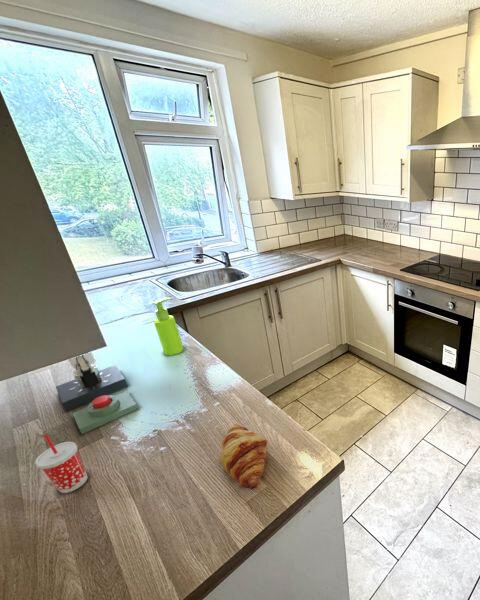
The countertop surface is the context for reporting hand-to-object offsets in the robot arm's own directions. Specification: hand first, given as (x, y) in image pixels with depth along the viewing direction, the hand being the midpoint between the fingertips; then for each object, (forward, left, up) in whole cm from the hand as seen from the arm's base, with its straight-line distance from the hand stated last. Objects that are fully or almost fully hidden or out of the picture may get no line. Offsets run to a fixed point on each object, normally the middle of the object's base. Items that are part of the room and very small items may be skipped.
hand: (89, 380), depth 98 cm
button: (0, -15, -1) cm, 15 cm away
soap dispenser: (+24, +6, -4) cm, 25 cm away
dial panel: (0, 0, -4) cm, 4 cm away
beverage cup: (-10, -36, -4) cm, 38 cm away
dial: (0, 0, -1) cm, 1 cm away
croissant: (+17, -59, -4) cm, 62 cm away
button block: (0, -15, -4) cm, 15 cm away
